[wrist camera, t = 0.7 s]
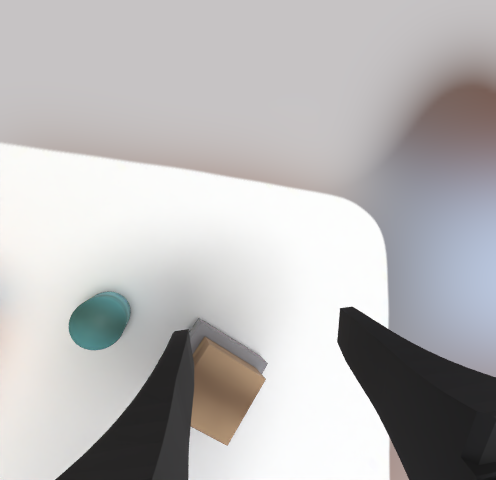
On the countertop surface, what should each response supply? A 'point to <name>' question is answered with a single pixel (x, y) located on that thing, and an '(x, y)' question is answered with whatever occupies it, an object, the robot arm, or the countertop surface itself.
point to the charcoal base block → (224, 344)
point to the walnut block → (221, 390)
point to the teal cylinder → (99, 321)
